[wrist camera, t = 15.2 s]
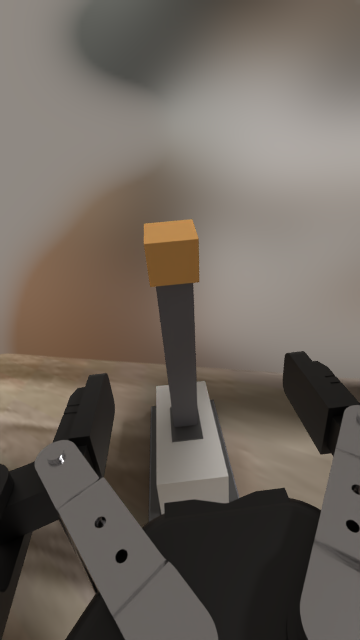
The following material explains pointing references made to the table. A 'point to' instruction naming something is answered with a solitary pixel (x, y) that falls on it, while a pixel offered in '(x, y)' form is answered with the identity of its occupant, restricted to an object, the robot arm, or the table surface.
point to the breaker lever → (176, 308)
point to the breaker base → (187, 456)
